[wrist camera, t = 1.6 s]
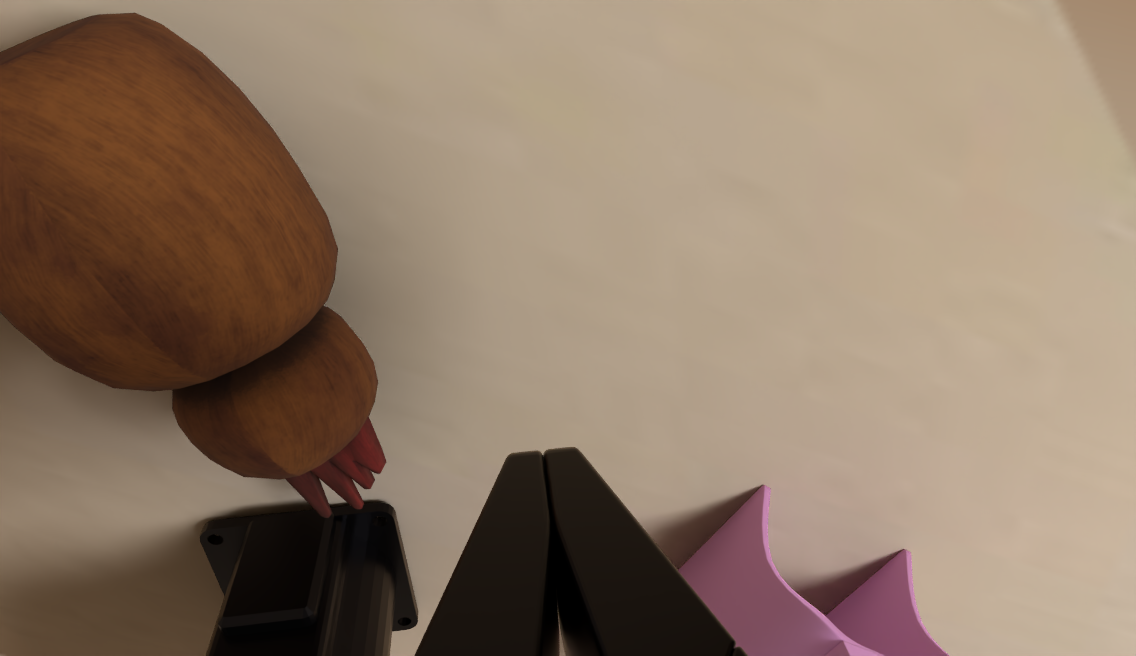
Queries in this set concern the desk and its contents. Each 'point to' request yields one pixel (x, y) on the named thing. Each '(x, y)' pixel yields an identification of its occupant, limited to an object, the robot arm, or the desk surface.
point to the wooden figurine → (179, 252)
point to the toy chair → (801, 599)
